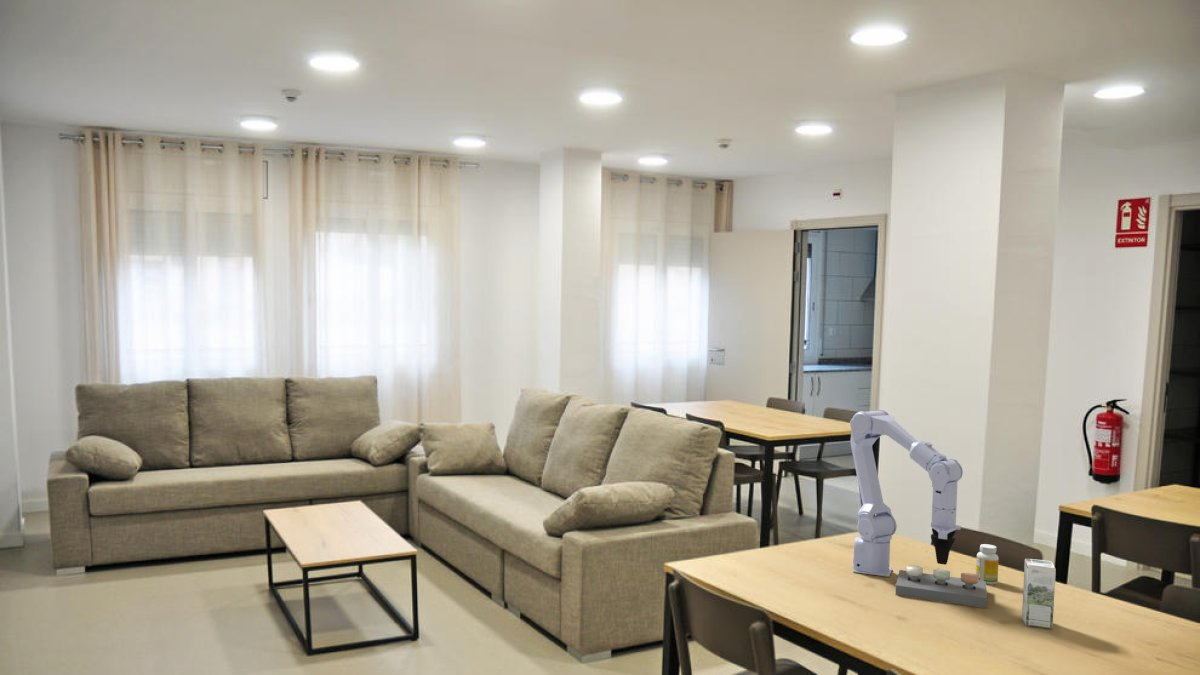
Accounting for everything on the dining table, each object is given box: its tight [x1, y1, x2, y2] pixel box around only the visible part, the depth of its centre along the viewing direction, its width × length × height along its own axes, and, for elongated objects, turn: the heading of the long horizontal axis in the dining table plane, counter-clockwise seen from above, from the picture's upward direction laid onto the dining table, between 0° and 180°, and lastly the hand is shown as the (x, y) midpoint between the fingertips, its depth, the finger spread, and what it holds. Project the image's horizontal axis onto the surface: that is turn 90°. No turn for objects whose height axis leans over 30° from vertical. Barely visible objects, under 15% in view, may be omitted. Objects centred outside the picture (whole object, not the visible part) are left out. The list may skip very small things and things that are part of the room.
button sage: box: [932, 568, 951, 586], centre depth 217 cm, size 4×4×4 cm
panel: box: [895, 569, 988, 609], centre depth 217 cm, size 21×14×2 cm, turn 67°
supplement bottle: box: [975, 543, 1000, 585], centre depth 228 cm, size 5×5×10 cm
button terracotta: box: [960, 572, 978, 589], centre depth 215 cm, size 4×4×4 cm
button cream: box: [905, 564, 924, 582], centre depth 220 cm, size 4×4×4 cm
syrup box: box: [1021, 558, 1057, 630], centre depth 197 cm, size 6×6×14 cm
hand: (942, 560), depth 217 cm, fingers open, 6 cm apart
